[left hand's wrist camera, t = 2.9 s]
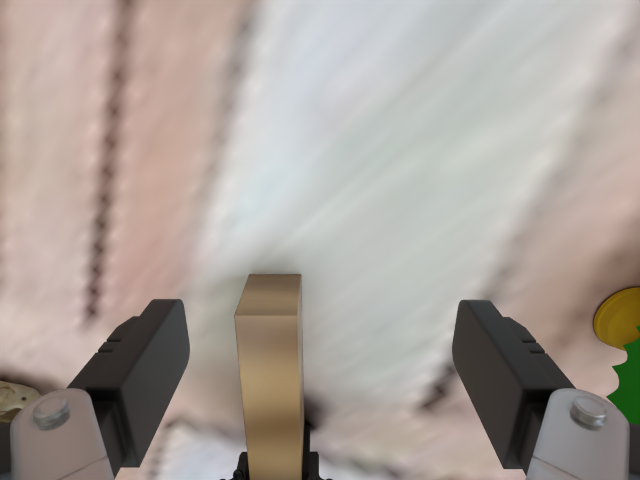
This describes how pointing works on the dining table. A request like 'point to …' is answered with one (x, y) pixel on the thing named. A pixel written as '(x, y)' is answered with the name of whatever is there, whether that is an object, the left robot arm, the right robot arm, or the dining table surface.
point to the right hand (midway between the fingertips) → (282, 433)
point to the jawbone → (14, 399)
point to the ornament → (623, 347)
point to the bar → (272, 375)
